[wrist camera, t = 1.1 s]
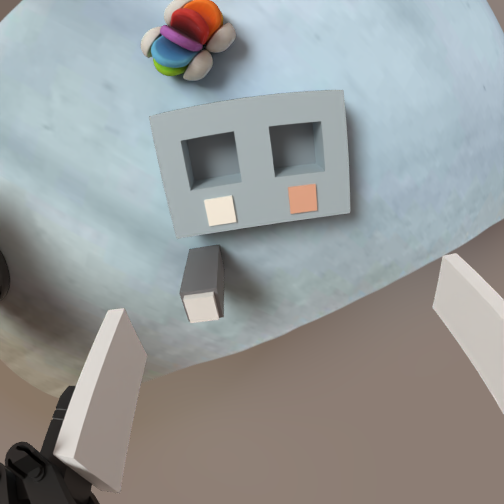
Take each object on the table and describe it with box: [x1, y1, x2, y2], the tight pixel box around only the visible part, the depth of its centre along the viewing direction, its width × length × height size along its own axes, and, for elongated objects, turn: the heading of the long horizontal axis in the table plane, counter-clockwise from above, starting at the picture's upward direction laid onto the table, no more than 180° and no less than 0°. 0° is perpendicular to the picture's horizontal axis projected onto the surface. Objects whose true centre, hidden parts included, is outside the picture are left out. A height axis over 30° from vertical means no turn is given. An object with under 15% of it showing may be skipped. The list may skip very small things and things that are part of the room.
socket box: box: [149, 90, 350, 239], centre depth 34 cm, size 20×14×5 cm
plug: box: [180, 245, 224, 323], centre depth 38 cm, size 4×4×11 cm
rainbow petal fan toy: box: [141, 0, 236, 81], centre depth 26 cm, size 8×10×7 cm
